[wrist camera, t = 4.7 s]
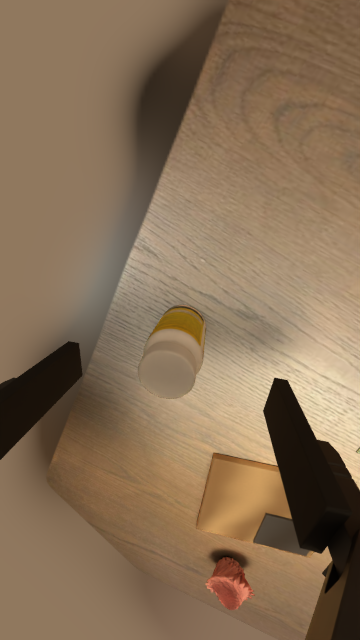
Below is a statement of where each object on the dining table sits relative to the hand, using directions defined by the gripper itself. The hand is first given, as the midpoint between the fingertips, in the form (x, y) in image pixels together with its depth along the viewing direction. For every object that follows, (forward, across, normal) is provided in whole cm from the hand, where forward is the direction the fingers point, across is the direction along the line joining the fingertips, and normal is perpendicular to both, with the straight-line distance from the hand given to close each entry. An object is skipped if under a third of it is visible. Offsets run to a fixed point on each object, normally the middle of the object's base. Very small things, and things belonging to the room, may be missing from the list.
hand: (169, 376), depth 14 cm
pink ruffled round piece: (+9, +13, -45) cm, 48 cm away
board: (+8, +15, -27) cm, 32 cm away
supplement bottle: (+8, 0, 0) cm, 9 cm away
